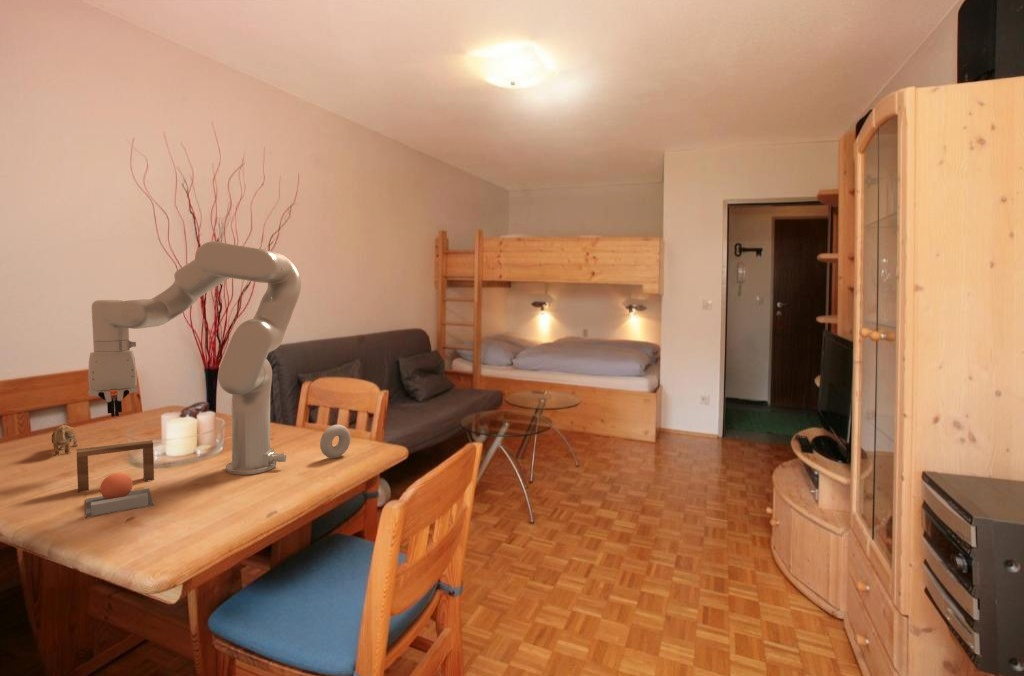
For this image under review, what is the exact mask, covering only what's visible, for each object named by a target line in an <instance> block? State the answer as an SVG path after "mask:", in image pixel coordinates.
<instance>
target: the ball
mask: <svg viewBox="0 0 1024 676" xmlns="http://www.w3.org/2000/svg"><path fill="white" fill-rule="evenodd" d="M132 489H133V481H132V479H131V477H130V476H129V475H128V474H126V473H122V472H117V473H112V474H110V475H108V476H106V477H105V478H104V479H103V480H102V482H101V483H100V486H99V491H100V494H101V496H103V497H105V498H106V499H114V498H120V497H125V496H127V495H128V494H129V493H130V491H132Z"/></svg>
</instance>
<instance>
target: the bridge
mask: <svg viewBox="0 0 1024 676" xmlns="http://www.w3.org/2000/svg"><path fill="white" fill-rule="evenodd" d="M136 450H142V465H143V466H142V467H143V470H142V472H143V481H144V482H149V481H148V480H151V481H154V480H155V469H154V468H155V467H154V466H155V464H154V463H155V461H154V460H155V459H154V441H153V439H149V440H142V441H134V442H125V443H117V444H109V445H102V446H101V445H100V446H92V447H84V448H76V474H77V492H78V493H80V492H88V491H90V490H89V489H90V483H89V481H90V480H89V479H90V478H89V457H90V456H98V455H106V454H112V453H119V452H129V451H136Z"/></svg>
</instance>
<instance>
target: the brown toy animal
mask: <svg viewBox="0 0 1024 676" xmlns="http://www.w3.org/2000/svg"><path fill="white" fill-rule="evenodd" d="M76 435H77V434H76V430H75V428H74V427H72V426H69V425H66V424H65V425H64V424H62V425H60V426H59V425H58V427H56V428H54V431H53V432H52V434H51V443H52V444H53V446H52V447H53V450H54V453H53V454H52V455H53V456H54V457H57V456H56V455H58V456H60V451H62V450H64V454H65V455H70V454H69V453H71V454H72V452H71V450H70V447H71V442H72V441H73V444H72V446H73V447H78V439H77V436H76Z"/></svg>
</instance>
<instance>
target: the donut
mask: <svg viewBox="0 0 1024 676" xmlns="http://www.w3.org/2000/svg"><path fill="white" fill-rule="evenodd" d="M335 437H338V441H337V444H336V445H335V446H333V440H334V439H335ZM319 441H320V443H319V446H320V447H319V448H320V450H321V452H322V454H323V455H324V456H325V457H327V458H330V459H336V457H337V458H339V457H341V456H342V455H344V454H345V453H346V452H347V450H348V449H349V447H350V443H351V434H350V431H349V429H348V428H347V427H346V426H344V425H342V424H333V425H330V426H328V428H326V429H325V430H324V432H323V433H322V435H321V437H320V440H319Z"/></svg>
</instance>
